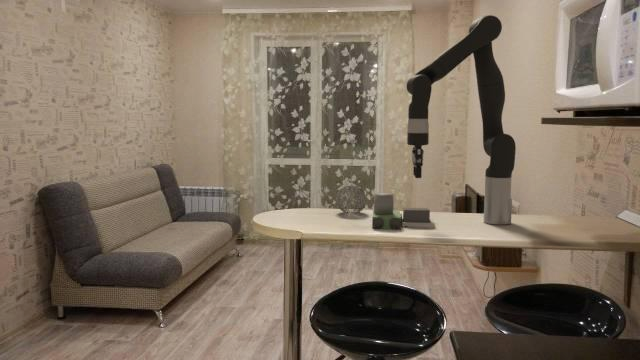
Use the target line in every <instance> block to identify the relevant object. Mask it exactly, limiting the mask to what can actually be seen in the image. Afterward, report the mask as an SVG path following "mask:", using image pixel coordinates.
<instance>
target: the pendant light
mask: <svg viewBox="0 0 640 360" xmlns="http://www.w3.org/2000/svg"><path fill="white" fill-rule="evenodd" d="M357 142H358V139H347V141H346V143H350V145H351V147H353V145H354V143H357ZM350 150H351V151H350V152H351V153H353V148H351V149H350ZM350 157H351V162H350V167H351V168H353V167H354V162H353V159H354V158H353V154H351V156H350ZM350 171H351V172H350V174H353V171H354V170H353V169H351V170H350ZM352 176H353V175H350V183H348V184H347V185H345V186H342V188H339V190H338V192H337V195H336V198H335V199H336V201H335V202H336V205H337V208H339V210H340V211H341V212H343V213H344V214H348V215H349V212H350V213H351V214H354V215H356V214H359V213H361V212H362V211H363V210H364V208H366V205H367V195H366V191H365V190H364V189H363V188H362V187H361V186H359V185H356V184H355V183H353V177H352Z"/></svg>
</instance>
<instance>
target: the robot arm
mask: <svg viewBox="0 0 640 360" xmlns="http://www.w3.org/2000/svg"><path fill="white" fill-rule="evenodd" d="M502 27H503V25H502V22H501V20H500V18H499V17H497V16H496V15H493V14H491V15H489V14H488V15H483V16H481V17H479V18H477V19H475V20H473V21H472V22H471V24H470V25H469V28H468V34H467V35H466V36H464V37H463V38H462V39H460V40H459V41H458V42H457V43H455V44H453V45H452V46H451V47H448V48H447V49H446V50H444V51H443V52H442V53H441V54H439V55H437V56H436V57H435V58H434V59H433V60H432V61H431V62H429V64H428V65H426V66H425V67H424V68H422V69H420V70H419V71H418V72H416V73H414V74H413V75H412V76H411V77H410V78H409V79H408V80H407V82H406V91H407V92H408V93H409V94H410V95H412V96H411V102H409V103H410V104H409V105H408V114H407V115H408V117H407V118H408V119H407V128H406V129H407V130H406V131H407V132H406V134H407V138H406V139H407V141H406V144H407V145H408V146H413V147H412V150H411V155H412V157H411V161H412V165H413V174H412V175H413V176H414V177H415V178H416V179H421V178H422V168H423V165H424V164H423V162H424V155H425V152H424V149H423V148H422V147H423V146H428V145H429V144H430V143H429V140H430V139H429V137H430V134H429V133H430V132H429V131H430V130H429V128H430V124H429V104H430V101H431V95H432V90H433V89H432V85H434V83H436V82H439V81H440V80H442V79H444V78H445V77H446V76H447V75H448V74H449V73H451V72H452V71H453V70H455V69H456V68H457V66H459V65H460V64H461V63H463V62H464V61H465V60H466V59H467V58H469V56H471V55H473V61H474V67H475V76H476V82H477V83H476V84H477V85H476V86H477V93H478V100H479V106H480V114H481V122H482V145H483V150H484V152H485V154H486V155H488V157H489V158H490V159H489V160H490V161H489V165H488V167H487V168H486V169H485V172H484V173H485V175H484V176H485V177H484V178H485V179H484V205H483V223H484V224H489V225H496V226H497V225H501V226H502V225H512V213H513V209H512V208H513V198H512V196H511V195H512V177H513V175H512V174H513V171H514V169H515V163H516V162H515V161H516V151H517V150H516V149H517V147H516V141H515V139H514V137H513V136H511V135H510V134H508V133H504V128H503V120H502V119H503V118H502V117H503V112H504V111H503V110H504V107H505V102H506V89H505V88H506V87H505V82H504V81H505V80H504V77H503V74H502V71H501V69H500V68H499V67H500V66H498V64H497V62H496V59H495V57H494V51H493V41H495V40H497V39H498V38H499V36H500V35H501V33H502Z"/></svg>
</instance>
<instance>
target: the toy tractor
mask: <svg viewBox="0 0 640 360" xmlns="http://www.w3.org/2000/svg"><path fill="white" fill-rule="evenodd" d="M394 195H395V194H394V193H387V192H378V193H374V196H373V197H374V199H373V200H374V201H373V202H374V205H373V209H372V220H371V221H372V222H371V223H372V224H371V225H372V226H371V228H372V229H377V230H379V229H387V228H392V230H398V228H401V229H402V226H408V227H407V228H430V227H431V228H434V229H435V226H436V225H435V221H434V219H432V218H430V223H416V222H403V213H400V212H401V211H400V209H394V204H395V203H394V199H395V198H394ZM431 228H430V229H431Z"/></svg>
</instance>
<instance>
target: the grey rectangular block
mask: <svg viewBox="0 0 640 360" xmlns="http://www.w3.org/2000/svg"><path fill="white" fill-rule="evenodd" d="M430 216H431V209H430V208H428V207H403V208H402V218H403V222H416V223H430V219H431V217H430Z"/></svg>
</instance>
